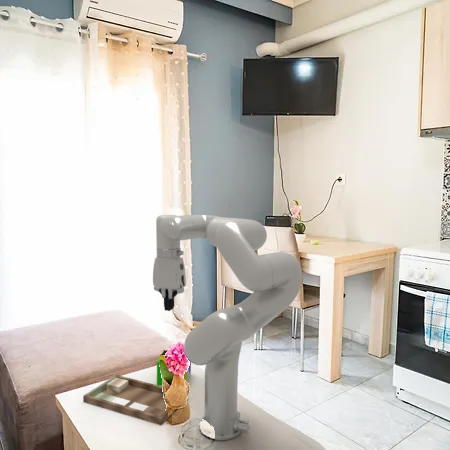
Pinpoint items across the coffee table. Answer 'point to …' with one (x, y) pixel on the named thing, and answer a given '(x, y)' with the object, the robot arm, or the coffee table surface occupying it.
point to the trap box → (132, 400)
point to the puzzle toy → (159, 379)
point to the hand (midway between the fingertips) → (169, 309)
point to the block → (117, 385)
